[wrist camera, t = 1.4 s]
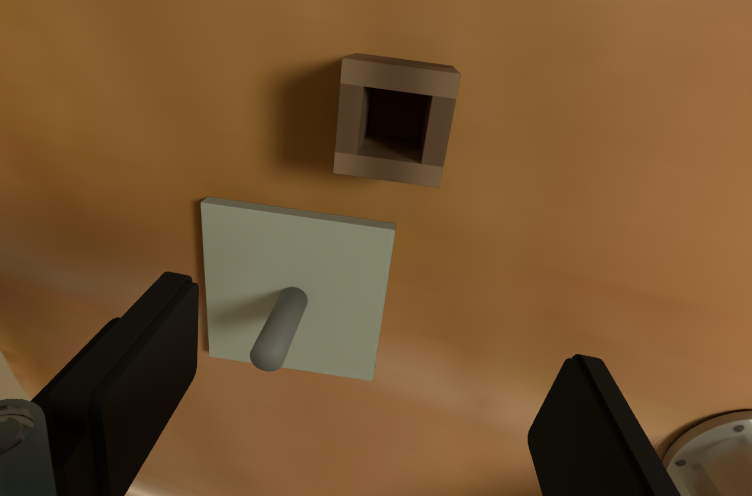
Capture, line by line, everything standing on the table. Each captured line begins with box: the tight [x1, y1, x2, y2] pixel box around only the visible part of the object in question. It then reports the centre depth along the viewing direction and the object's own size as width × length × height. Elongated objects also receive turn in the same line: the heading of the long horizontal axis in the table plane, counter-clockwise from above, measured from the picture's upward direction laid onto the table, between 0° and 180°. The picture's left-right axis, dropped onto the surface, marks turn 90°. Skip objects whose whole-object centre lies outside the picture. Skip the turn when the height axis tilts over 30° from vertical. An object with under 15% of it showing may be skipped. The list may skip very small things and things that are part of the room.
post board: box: [201, 197, 396, 381], centre depth 32 cm, size 14×14×8 cm
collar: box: [333, 53, 461, 188], centre depth 26 cm, size 6×6×6 cm
